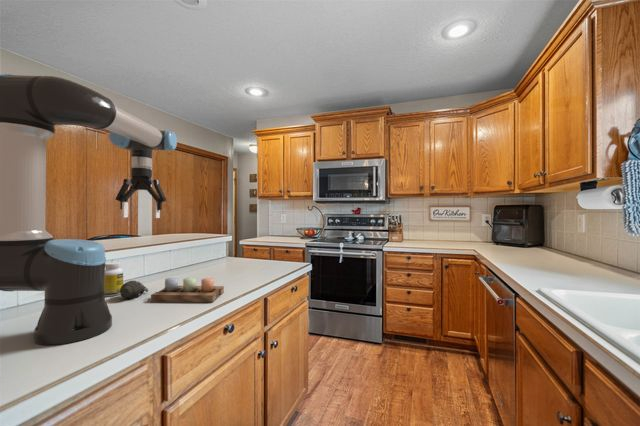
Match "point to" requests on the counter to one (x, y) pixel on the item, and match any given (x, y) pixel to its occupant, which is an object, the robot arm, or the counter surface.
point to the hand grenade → (132, 289)
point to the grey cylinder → (171, 284)
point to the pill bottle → (113, 279)
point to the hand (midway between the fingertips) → (141, 217)
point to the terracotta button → (207, 285)
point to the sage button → (189, 284)
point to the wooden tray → (188, 295)
